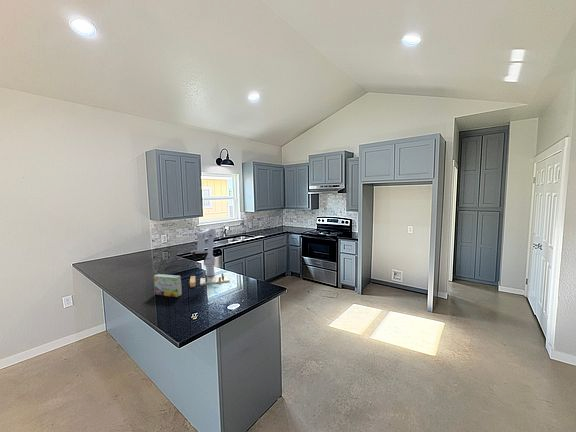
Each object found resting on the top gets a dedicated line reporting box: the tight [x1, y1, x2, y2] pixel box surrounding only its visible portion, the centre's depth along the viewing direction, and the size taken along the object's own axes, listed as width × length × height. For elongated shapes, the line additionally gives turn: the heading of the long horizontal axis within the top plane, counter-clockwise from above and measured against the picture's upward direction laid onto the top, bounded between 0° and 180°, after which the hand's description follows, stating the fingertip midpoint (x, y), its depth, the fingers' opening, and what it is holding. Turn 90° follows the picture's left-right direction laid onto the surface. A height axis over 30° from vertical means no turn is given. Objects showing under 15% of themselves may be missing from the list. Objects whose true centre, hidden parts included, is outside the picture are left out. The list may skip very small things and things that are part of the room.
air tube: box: [189, 275, 197, 288], centre depth 224 cm, size 18×4×4 cm, turn 18°
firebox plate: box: [199, 273, 230, 286], centre depth 229 cm, size 16×24×5 cm, turn 108°
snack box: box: [153, 273, 183, 298], centre depth 199 cm, size 21×6×15 cm, turn 73°
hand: (199, 261), depth 217 cm, fingers open, 7 cm apart
